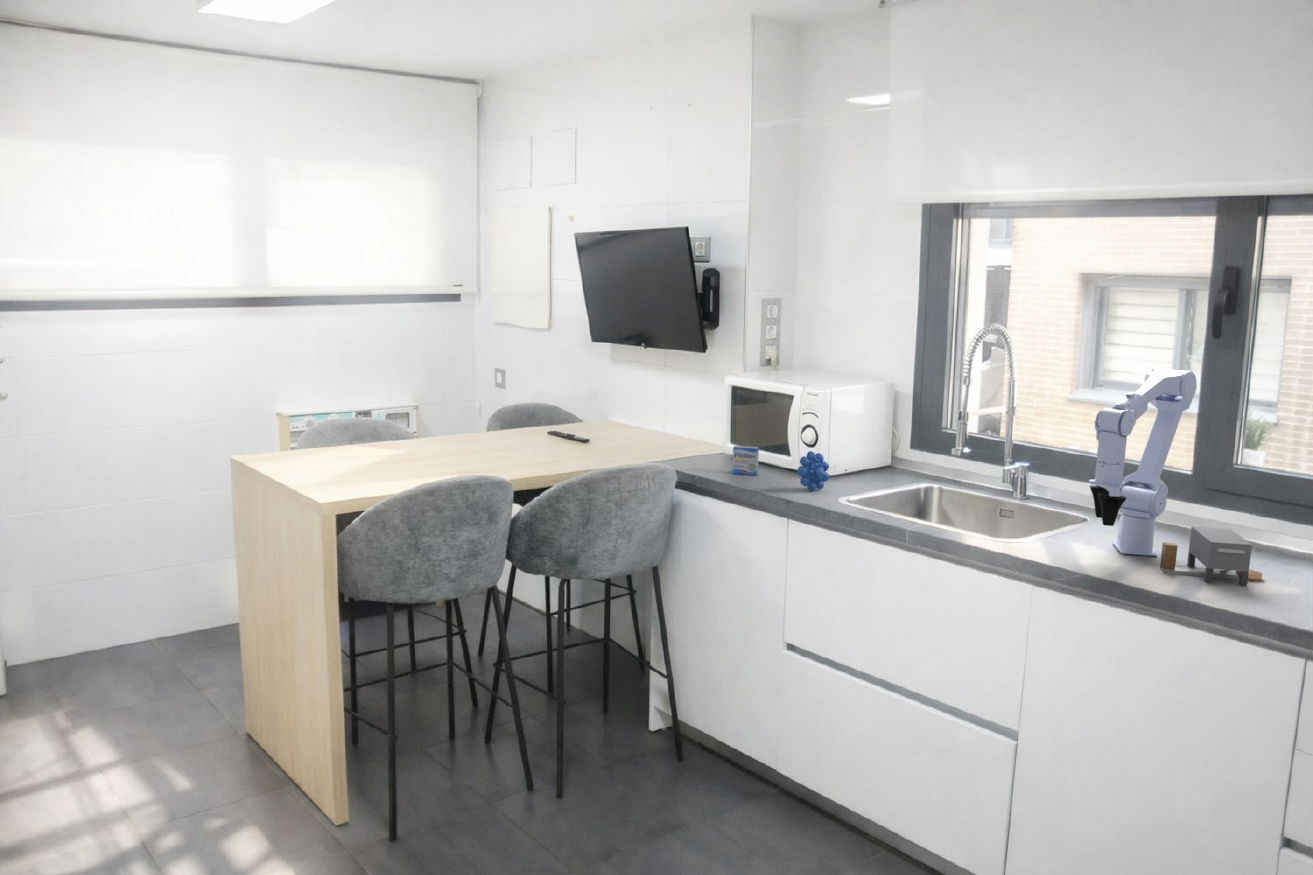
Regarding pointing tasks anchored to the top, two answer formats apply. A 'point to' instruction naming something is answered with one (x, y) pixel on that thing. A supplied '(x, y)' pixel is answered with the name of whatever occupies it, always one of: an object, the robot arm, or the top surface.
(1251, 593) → the top surface
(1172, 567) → the scraper
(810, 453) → the grapes
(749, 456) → the medicine box
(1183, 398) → the robot arm
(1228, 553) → the low cabinet
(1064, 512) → the top surface
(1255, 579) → the copper token
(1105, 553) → the top surface
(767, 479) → the top surface
